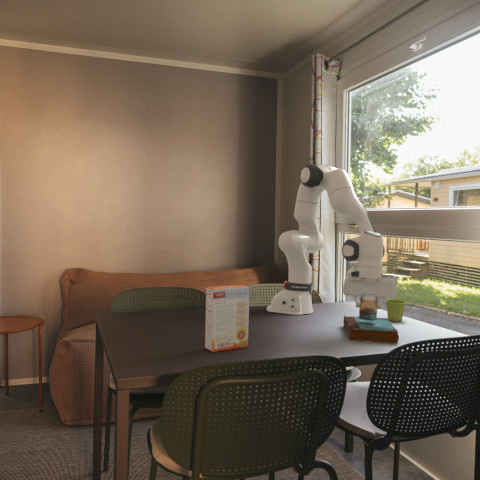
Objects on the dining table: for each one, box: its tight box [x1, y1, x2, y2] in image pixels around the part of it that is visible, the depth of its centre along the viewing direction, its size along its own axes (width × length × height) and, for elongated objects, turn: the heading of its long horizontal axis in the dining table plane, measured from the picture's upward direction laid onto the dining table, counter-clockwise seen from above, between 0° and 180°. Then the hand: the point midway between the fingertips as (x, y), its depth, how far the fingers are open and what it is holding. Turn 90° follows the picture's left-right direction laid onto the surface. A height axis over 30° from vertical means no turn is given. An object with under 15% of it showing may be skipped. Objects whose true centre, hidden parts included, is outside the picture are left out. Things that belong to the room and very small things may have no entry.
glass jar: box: [358, 294, 379, 321], centre depth 177 cm, size 7×7×10 cm
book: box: [343, 315, 400, 345], centre depth 177 cm, size 23×18×5 cm
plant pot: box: [384, 298, 407, 322], centre depth 206 cm, size 9×9×9 cm
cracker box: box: [204, 284, 251, 353], centre depth 152 cm, size 14×6×21 cm, turn 121°
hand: (368, 307), depth 177 cm, fingers closed on glass jar, 7 cm apart
